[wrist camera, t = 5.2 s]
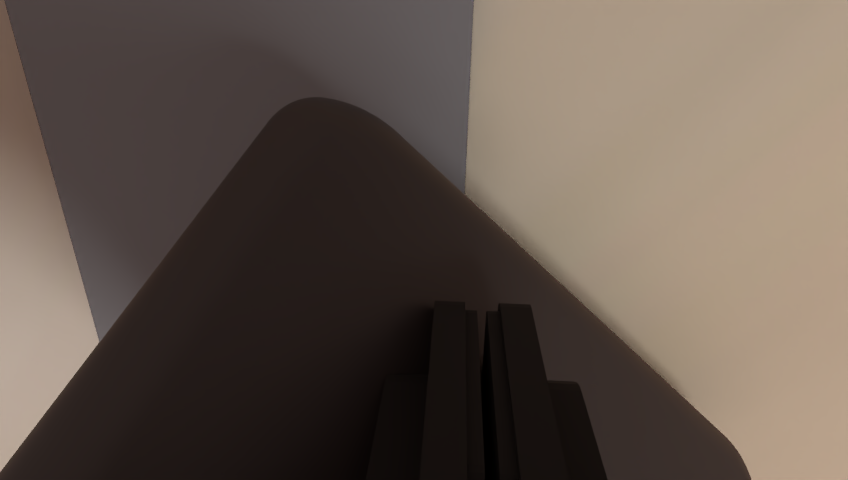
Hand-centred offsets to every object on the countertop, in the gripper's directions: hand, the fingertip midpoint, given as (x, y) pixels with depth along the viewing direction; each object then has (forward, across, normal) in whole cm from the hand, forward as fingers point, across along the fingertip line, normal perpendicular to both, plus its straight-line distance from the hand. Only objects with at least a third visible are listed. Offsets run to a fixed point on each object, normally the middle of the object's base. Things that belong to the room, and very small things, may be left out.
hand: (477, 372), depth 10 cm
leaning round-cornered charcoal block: (+4, -3, +1) cm, 5 cm away
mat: (+6, +6, 0) cm, 8 cm away
